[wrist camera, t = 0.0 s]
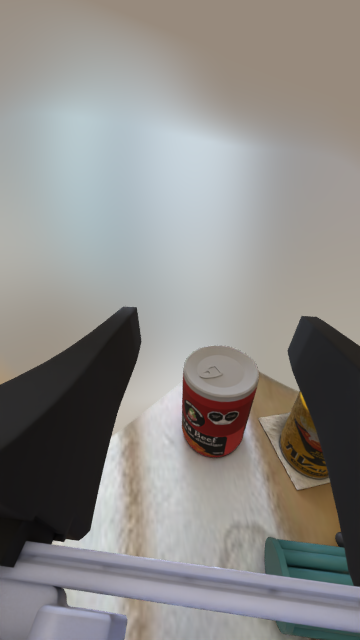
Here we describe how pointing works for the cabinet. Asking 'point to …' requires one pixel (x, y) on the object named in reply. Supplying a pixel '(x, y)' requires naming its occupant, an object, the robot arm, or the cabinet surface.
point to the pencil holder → (309, 576)
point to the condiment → (297, 445)
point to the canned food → (217, 398)
